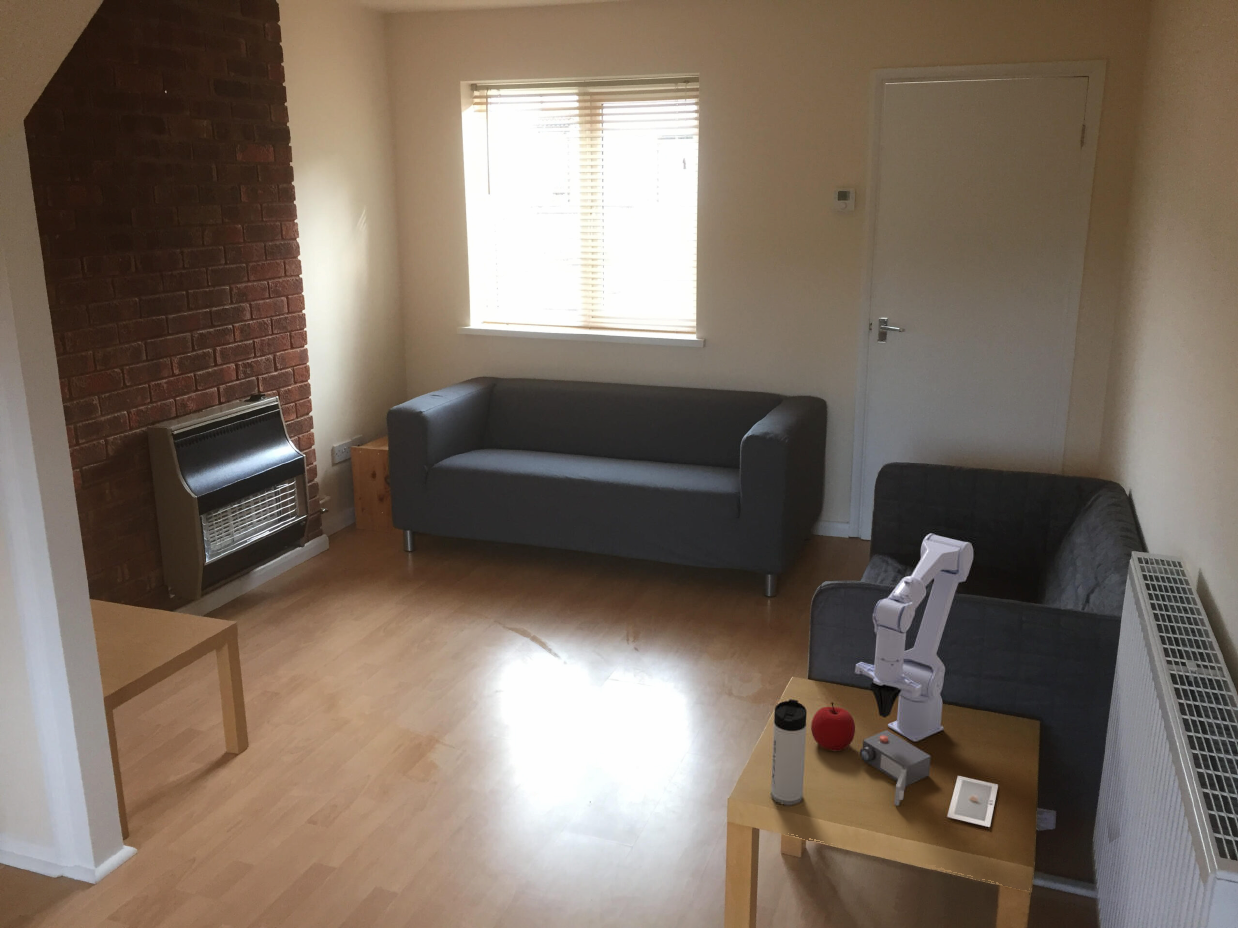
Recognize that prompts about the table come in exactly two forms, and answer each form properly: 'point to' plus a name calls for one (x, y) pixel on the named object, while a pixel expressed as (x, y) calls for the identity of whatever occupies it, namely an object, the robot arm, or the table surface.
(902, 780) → the door
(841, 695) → the table surface
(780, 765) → the travel mug
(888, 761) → the camera body
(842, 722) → the apple
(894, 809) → the table surface
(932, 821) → the table surface
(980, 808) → the touchpad
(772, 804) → the table surface
